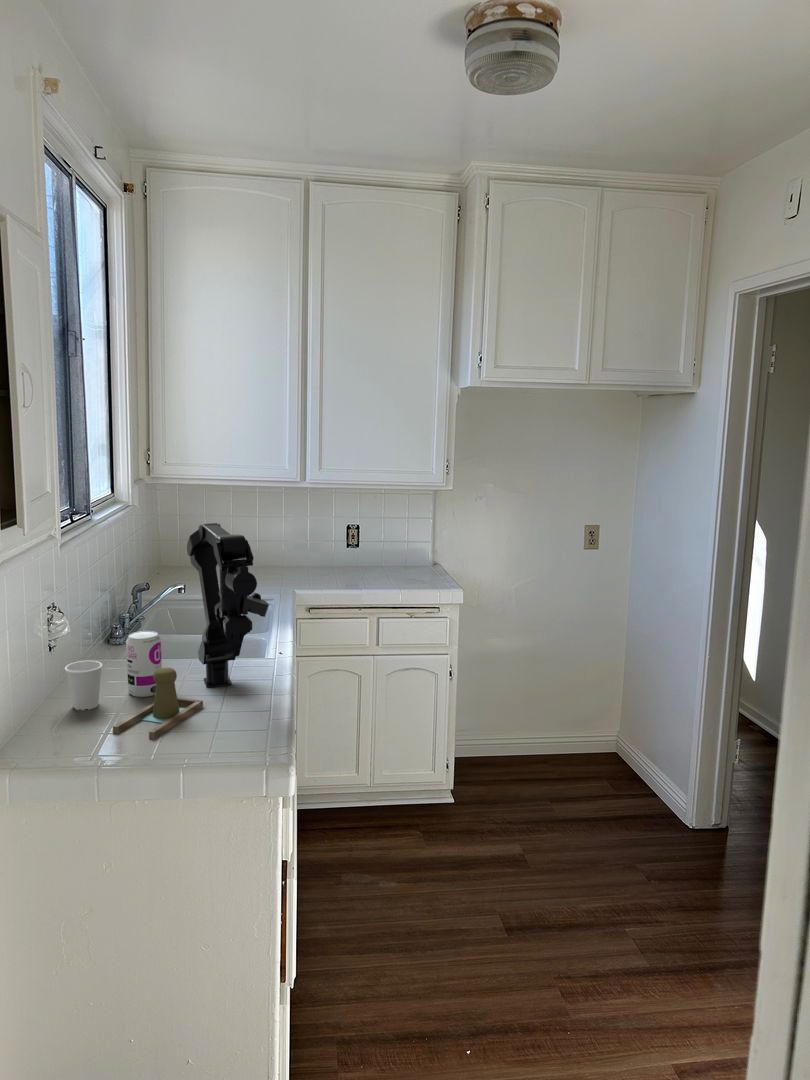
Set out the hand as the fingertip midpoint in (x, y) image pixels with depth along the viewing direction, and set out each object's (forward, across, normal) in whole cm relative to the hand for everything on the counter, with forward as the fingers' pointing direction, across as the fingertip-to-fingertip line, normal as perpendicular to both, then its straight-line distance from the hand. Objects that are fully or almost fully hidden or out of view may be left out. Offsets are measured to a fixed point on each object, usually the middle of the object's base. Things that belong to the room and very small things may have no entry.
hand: (233, 650), depth 194 cm
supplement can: (+13, +14, +20) cm, 28 cm away
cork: (+13, -3, +16) cm, 21 cm away
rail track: (+13, -5, +18) cm, 23 cm away
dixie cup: (+13, +9, +34) cm, 38 cm away
